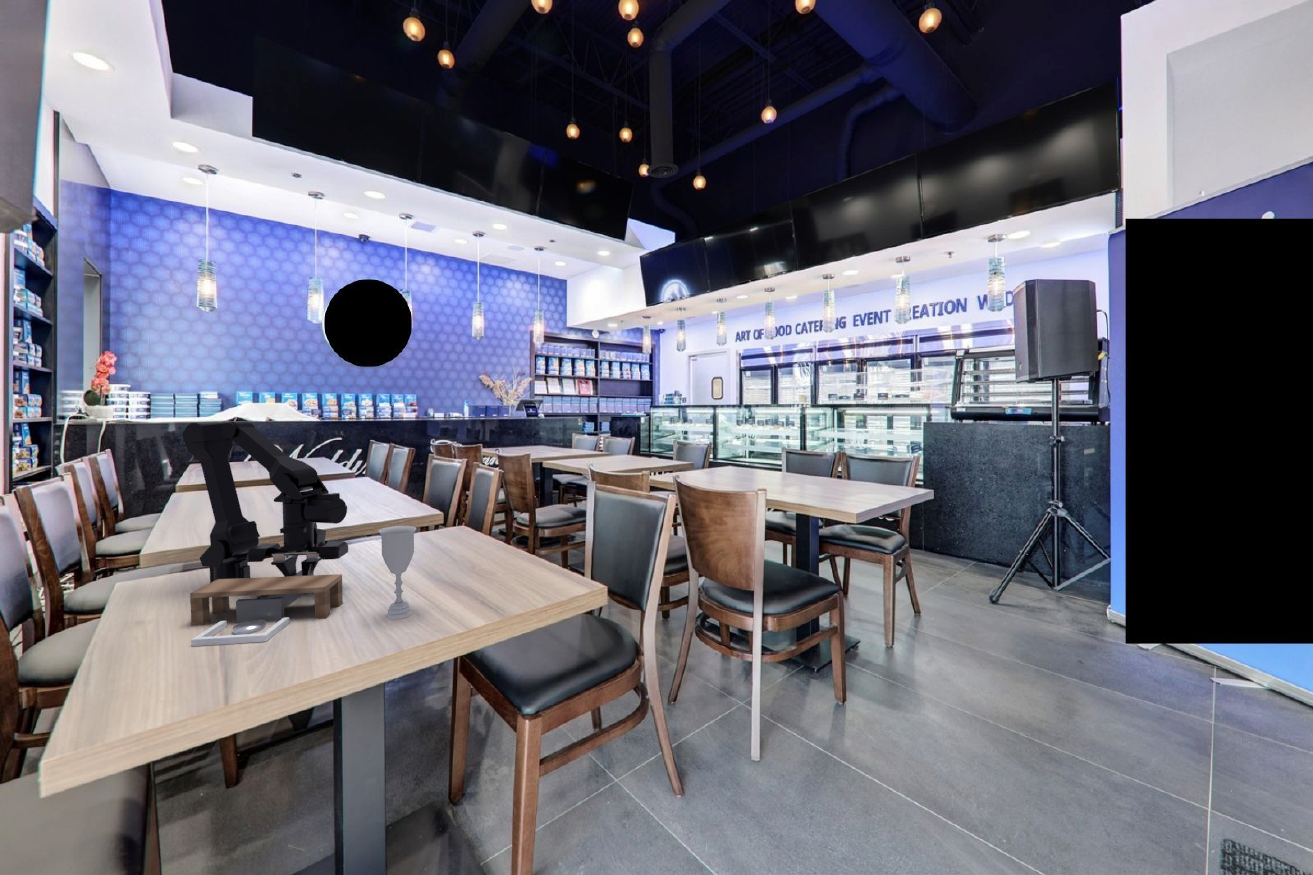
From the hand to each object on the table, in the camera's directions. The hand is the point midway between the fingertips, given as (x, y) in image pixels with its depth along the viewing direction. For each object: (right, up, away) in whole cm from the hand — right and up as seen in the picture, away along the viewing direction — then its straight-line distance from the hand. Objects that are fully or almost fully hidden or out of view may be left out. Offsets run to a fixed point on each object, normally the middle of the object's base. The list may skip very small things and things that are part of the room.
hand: (300, 587), depth 117 cm
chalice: (+28, -3, -11) cm, 30 cm away
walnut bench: (+2, -2, -12) cm, 12 cm away
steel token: (+3, -3, -19) cm, 19 cm away
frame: (+4, -3, -20) cm, 21 cm away
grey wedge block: (+1, -2, -5) cm, 6 cm away
